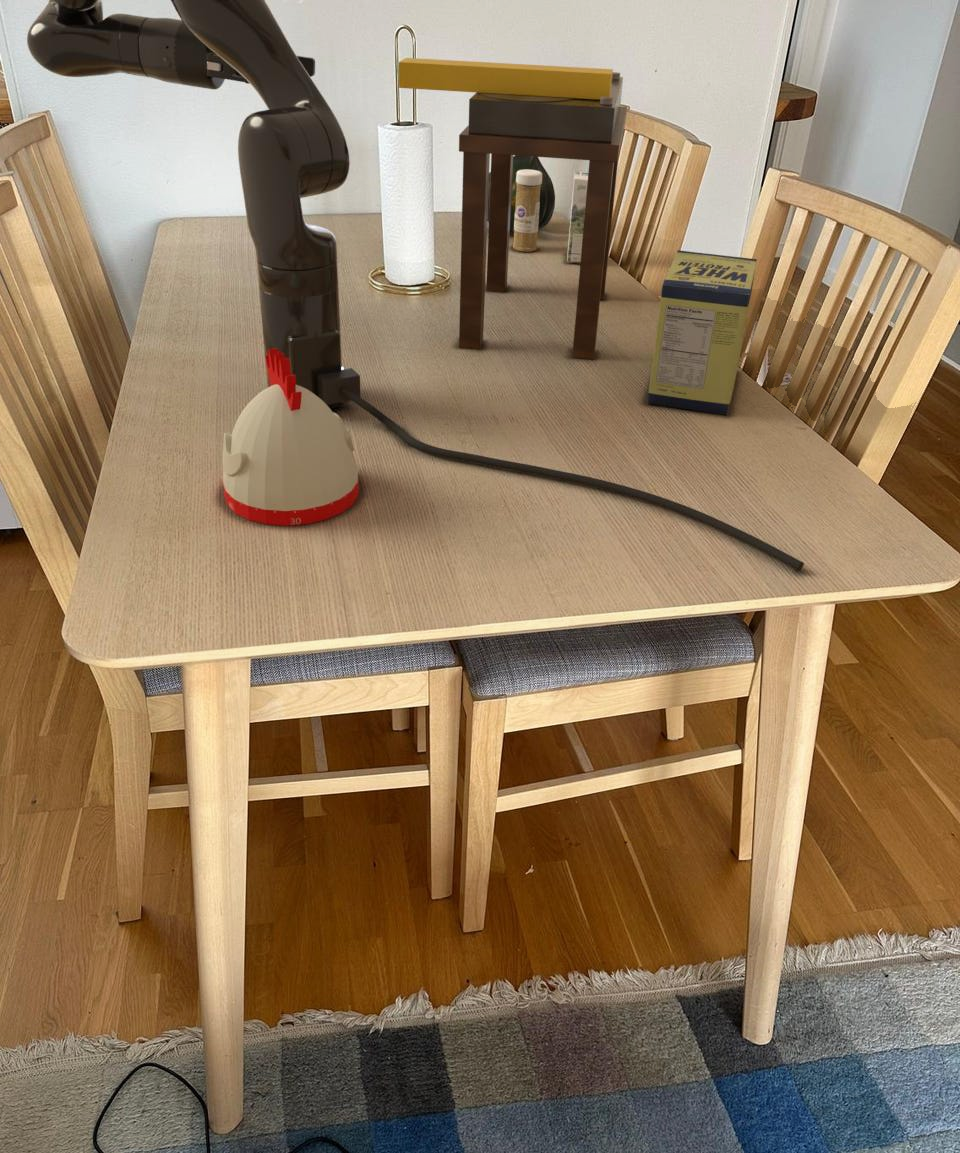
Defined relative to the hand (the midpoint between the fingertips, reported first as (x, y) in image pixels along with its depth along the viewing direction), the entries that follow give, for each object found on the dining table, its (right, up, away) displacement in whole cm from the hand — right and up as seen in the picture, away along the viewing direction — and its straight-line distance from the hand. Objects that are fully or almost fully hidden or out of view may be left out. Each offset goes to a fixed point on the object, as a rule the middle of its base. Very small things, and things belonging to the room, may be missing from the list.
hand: (303, 71), depth 130 cm
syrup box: (+41, -9, +50) cm, 65 cm away
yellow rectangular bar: (+26, -2, +1) cm, 26 cm away
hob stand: (+31, -26, +23) cm, 47 cm away
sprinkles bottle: (+31, -5, +55) cm, 63 cm away
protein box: (+51, -40, +3) cm, 65 cm away
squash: (+29, +2, +66) cm, 72 cm away
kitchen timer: (+3, -56, -24) cm, 61 cm away
